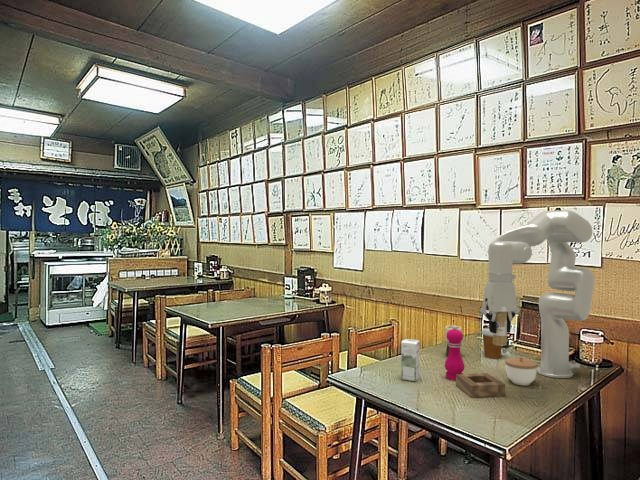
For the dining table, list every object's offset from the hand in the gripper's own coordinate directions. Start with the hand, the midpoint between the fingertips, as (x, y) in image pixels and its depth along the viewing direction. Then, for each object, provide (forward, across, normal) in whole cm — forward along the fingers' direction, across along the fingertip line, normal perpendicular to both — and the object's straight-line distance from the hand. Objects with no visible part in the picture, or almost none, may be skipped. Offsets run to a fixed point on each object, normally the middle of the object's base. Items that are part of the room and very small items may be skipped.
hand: (499, 331), depth 149 cm
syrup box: (+22, +24, -20) cm, 38 cm away
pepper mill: (+22, +7, -18) cm, 29 cm away
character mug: (+22, -6, -46) cm, 51 cm away
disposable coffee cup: (+22, -23, -42) cm, 53 cm away
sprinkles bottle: (+5, 0, 0) cm, 5 cm away
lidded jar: (+22, -15, -10) cm, 28 cm away
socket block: (+21, +5, -4) cm, 22 cm away
